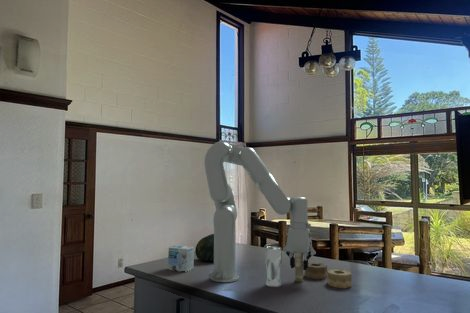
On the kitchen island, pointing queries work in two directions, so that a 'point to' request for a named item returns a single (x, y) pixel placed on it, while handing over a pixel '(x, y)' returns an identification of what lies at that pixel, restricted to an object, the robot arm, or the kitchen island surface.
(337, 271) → the oak bead
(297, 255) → the cream and red cylinder
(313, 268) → the walnut bead
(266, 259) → the beer glass
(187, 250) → the light bulb box
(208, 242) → the squash
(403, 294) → the kitchen island surface
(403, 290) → the kitchen island surface
